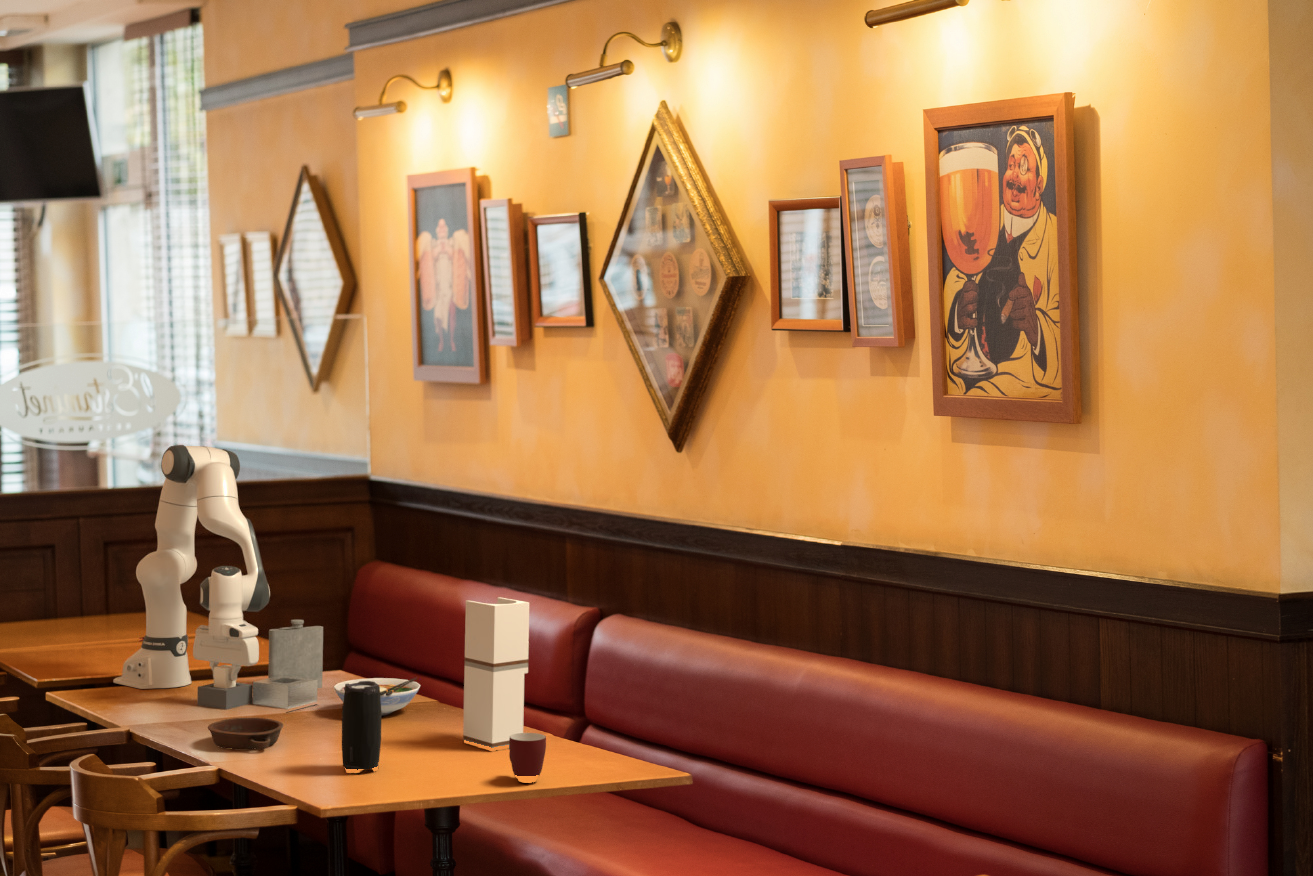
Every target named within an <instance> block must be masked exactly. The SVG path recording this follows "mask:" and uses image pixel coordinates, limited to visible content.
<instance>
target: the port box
mask: <svg viewBox="0 0 1313 876" xmlns="http://www.w3.org/2000/svg"><path fill="white" fill-rule="evenodd" d="M252 685H253V692H252V705H255V706H260V707H261V706H262V707H268V708H270V707H271V708H276V709H283V710H288V711H286V712H285V713H286V714H287V713H288V714H289V713H291V712H293V713H294V712H297V711H301V710H304V709H308V708H311V707H316V706H318V703H317V702H318V688H317V679H311V678H303V677H295V676H287V675H281V676H276V677H272V678H268V677H267V678H264V679H259V680H256V681H255V680H254V681H253V682H252ZM312 703H315V704H312ZM309 704H311V705H309ZM305 705H308V706H305ZM302 706H303V707H302ZM304 706H305V707H304ZM297 707H301V708H297ZM293 708H296V709H293ZM290 709H293V710H290Z"/></svg>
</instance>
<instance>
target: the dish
mask: <svg viewBox="0 0 1313 876" xmlns="http://www.w3.org/2000/svg"><path fill="white" fill-rule="evenodd" d="M283 727H284V723H283V722H281V721H279V720H276V719H273V718H266V717H236V718H235V717H234V718H227V719H226V718H225V719H222V720H218V721H215V722H212V723H210V724H209V725H208V726H207V729H208V731H209V732H210V735H211V738H212V740H213V743H214V744H215V746H217V747H218V746H219V748H221V747H222V748H221V749H225V748H232V749H231V750H235V749H249V750H265V749H268V748H269V747H270V746H273V745H274V744H276V742H277V741H278V739H279V737H280V734H281V730H282V728H283ZM254 748H256V749H254Z"/></svg>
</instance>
